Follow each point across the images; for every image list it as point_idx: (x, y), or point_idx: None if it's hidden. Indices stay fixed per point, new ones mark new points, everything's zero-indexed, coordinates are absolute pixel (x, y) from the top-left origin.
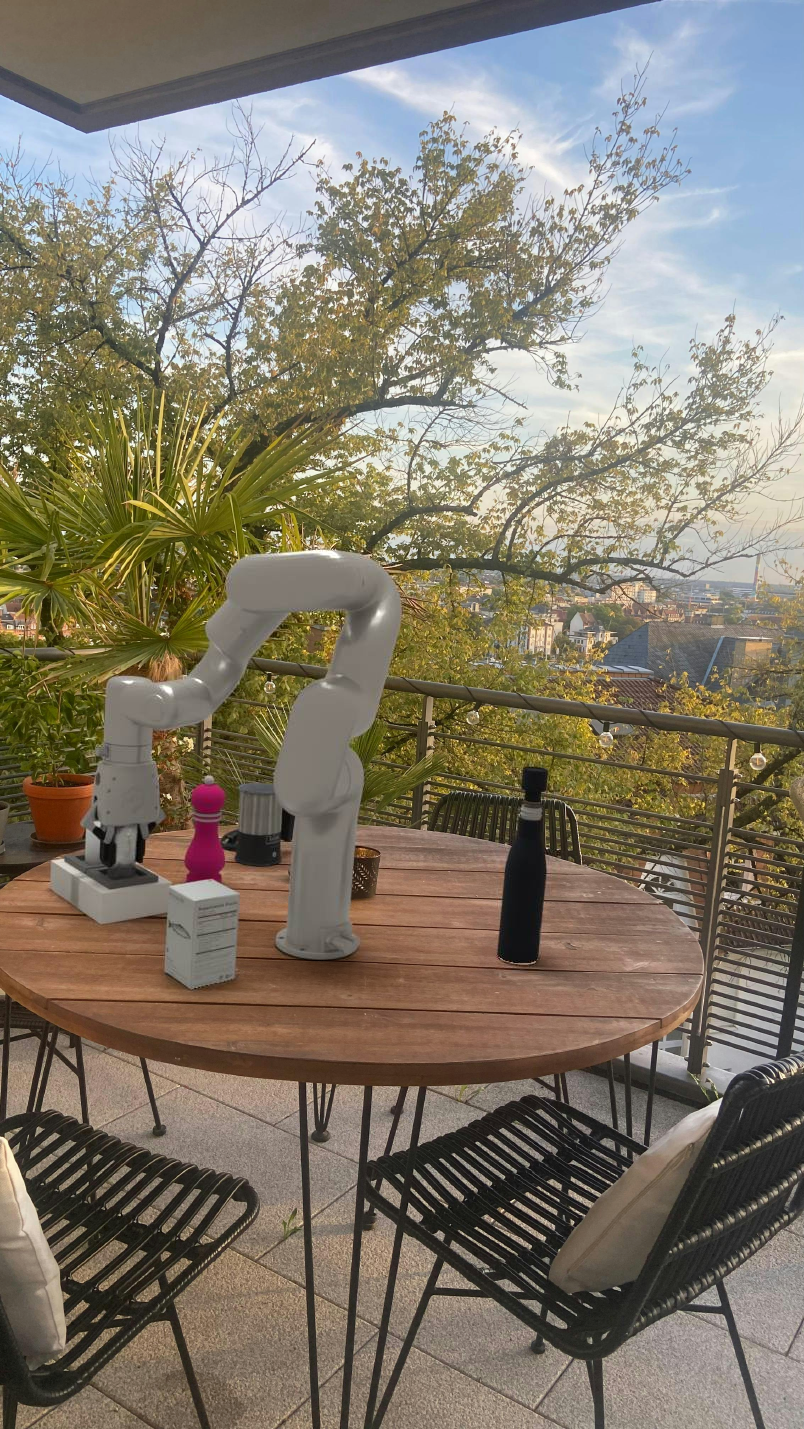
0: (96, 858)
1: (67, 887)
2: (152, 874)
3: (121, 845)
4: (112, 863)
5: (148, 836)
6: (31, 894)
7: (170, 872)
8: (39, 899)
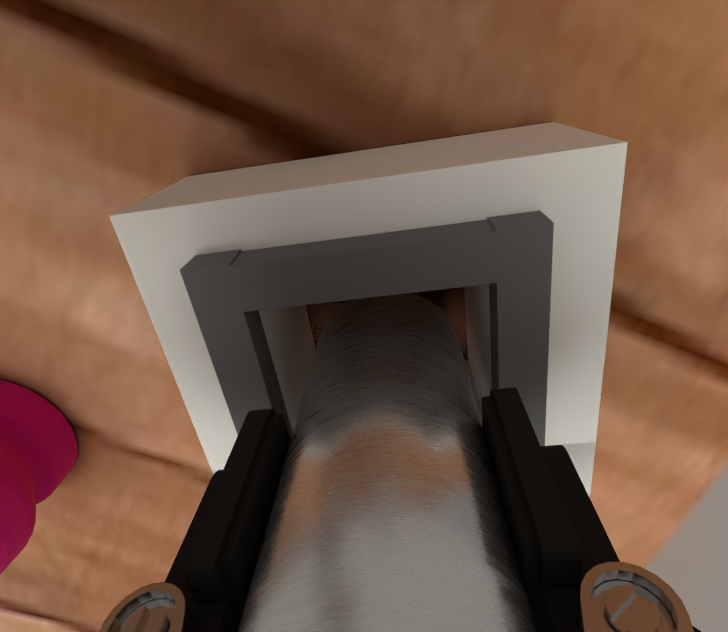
0: None
1: None
2: (212, 314)
3: (451, 519)
4: (497, 403)
5: (116, 611)
6: (616, 522)
7: (121, 557)
8: (618, 478)
